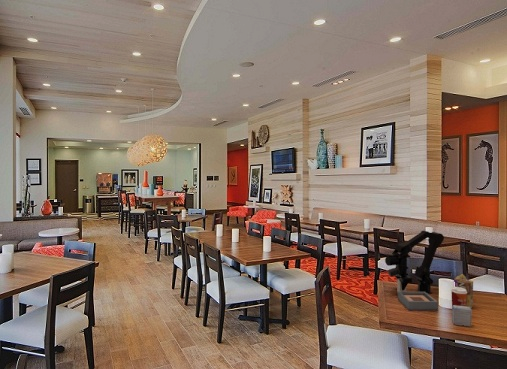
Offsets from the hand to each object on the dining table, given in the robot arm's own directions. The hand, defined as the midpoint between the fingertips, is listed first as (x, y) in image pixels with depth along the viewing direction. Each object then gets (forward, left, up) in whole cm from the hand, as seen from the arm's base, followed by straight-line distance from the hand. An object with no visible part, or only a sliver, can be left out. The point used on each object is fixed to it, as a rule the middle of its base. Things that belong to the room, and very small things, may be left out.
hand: (401, 289), depth 218 cm
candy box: (-28, +18, -3) cm, 33 cm away
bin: (-2, +18, -3) cm, 18 cm away
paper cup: (-19, +30, -3) cm, 36 cm away
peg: (0, 0, -3) cm, 3 cm away
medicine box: (-14, +42, -3) cm, 44 cm away
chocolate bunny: (-34, +6, -3) cm, 35 cm away
